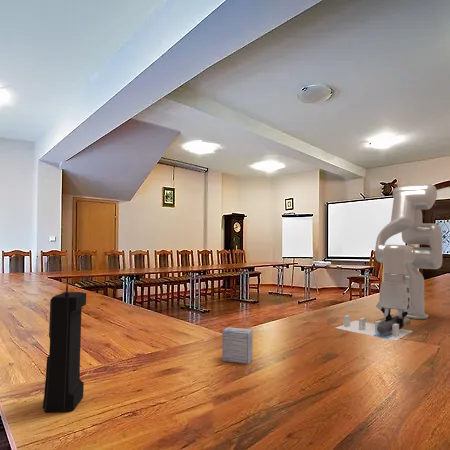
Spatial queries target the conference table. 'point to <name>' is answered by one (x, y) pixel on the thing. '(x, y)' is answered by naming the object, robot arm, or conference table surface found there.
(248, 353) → the medicine box
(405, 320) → the computer
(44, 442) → the conference table surface
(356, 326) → the board
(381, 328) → the dark grey rounded peg
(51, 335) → the portable radio
